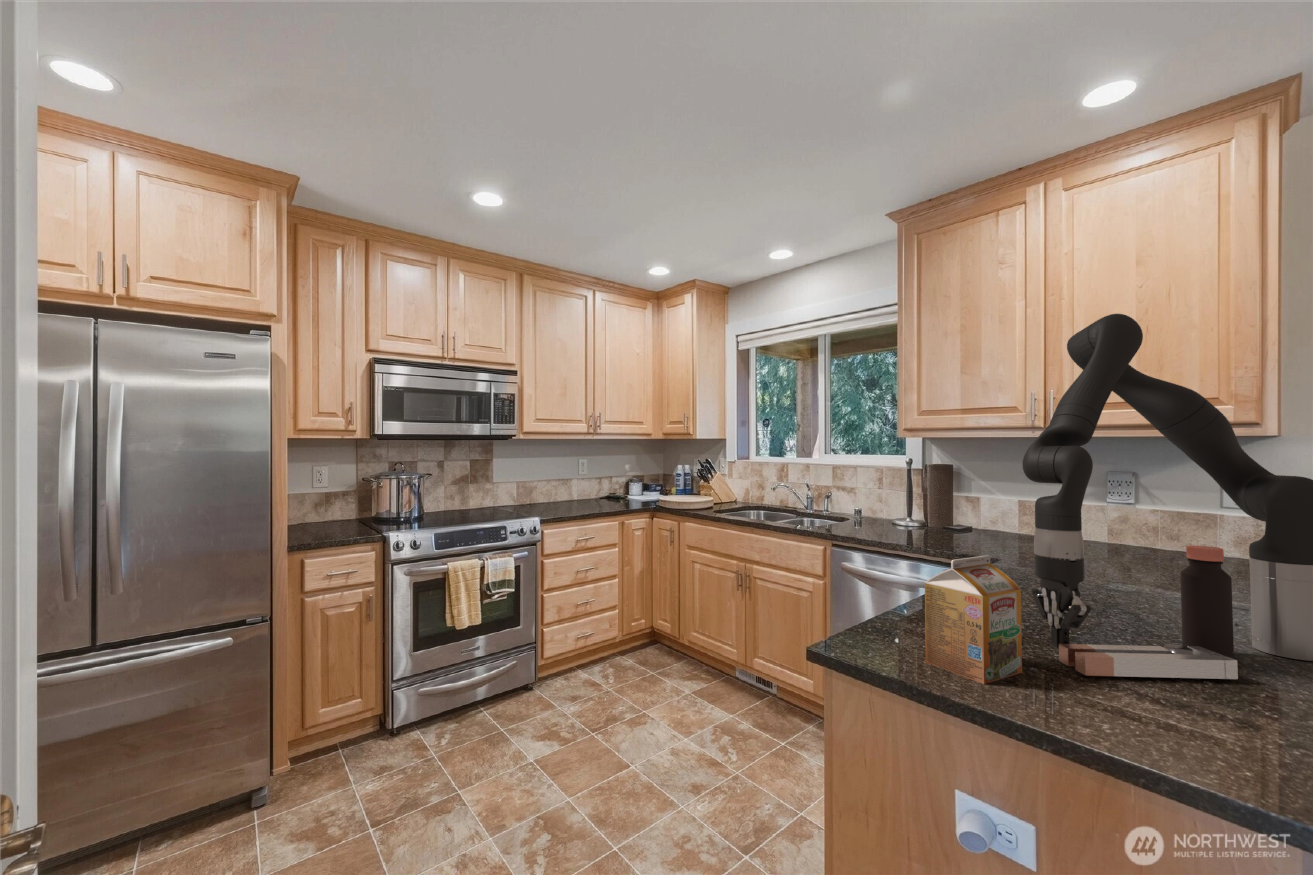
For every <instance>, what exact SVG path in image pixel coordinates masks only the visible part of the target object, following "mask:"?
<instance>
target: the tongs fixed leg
mask: <svg viewBox="0 0 1313 875" xmlns="http://www.w3.org/2000/svg"><path fill="white" fill-rule="evenodd" d="M1187 647H1188V648H1191V649H1192V650H1193V655H1189V654H1143V653H1097V652H1075V666H1074V667H1075V671H1077V672H1079V673H1080V674H1082V675H1084V676H1085V677H1086V676H1091V677H1093V676H1094V677H1131V678H1134V677H1135V678H1136V677H1137V678H1167V679H1168V678H1171V679H1175V678H1176V679H1177V678H1179V679H1209V680H1210V679H1214V680H1215V679H1219V680H1238V679H1239V674H1238V673H1239V671H1238V670H1239V668H1238V660H1237V659H1235V658H1234V659H1232V658H1229V657H1226V656H1224V655H1221V654H1218V653H1216V652H1213V651H1210V650H1208V649H1205V648H1202V647H1200V646H1187Z"/></svg>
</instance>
